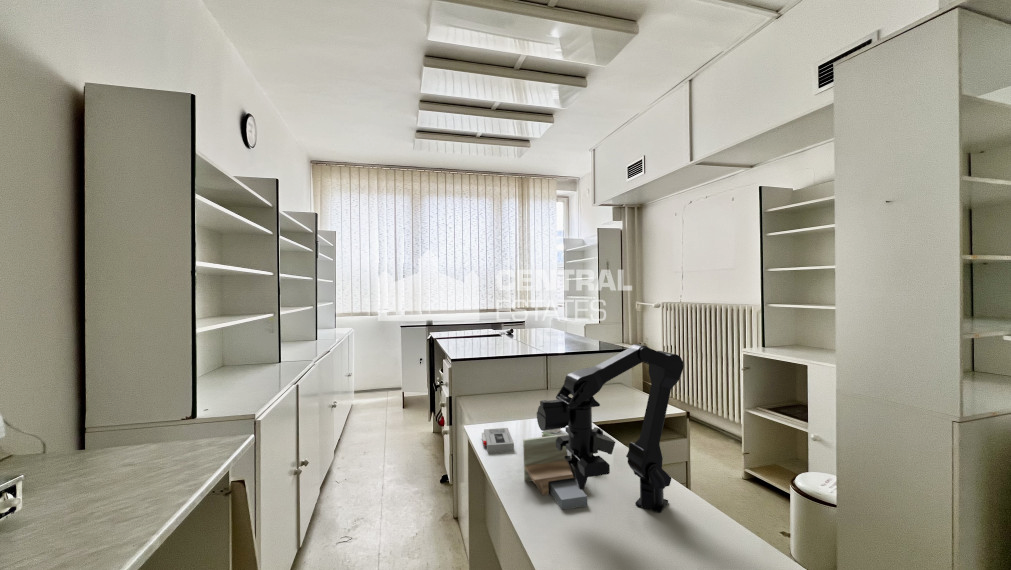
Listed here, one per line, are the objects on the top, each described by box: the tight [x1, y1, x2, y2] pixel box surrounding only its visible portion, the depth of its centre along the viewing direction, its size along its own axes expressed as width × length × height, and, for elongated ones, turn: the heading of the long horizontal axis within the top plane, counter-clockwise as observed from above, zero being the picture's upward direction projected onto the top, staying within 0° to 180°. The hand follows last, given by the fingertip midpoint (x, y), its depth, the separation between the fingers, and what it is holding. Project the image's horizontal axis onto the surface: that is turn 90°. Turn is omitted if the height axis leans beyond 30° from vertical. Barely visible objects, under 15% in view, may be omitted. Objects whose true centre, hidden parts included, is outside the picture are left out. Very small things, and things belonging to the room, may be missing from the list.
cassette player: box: [481, 427, 515, 454], centre depth 153 cm, size 16×3×10 cm
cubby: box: [522, 433, 576, 496], centre depth 121 cm, size 10×16×12 cm, turn 104°
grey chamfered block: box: [548, 478, 588, 510], centre depth 116 cm, size 16×7×2 cm, turn 12°
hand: (581, 488), depth 104 cm, fingers closed
